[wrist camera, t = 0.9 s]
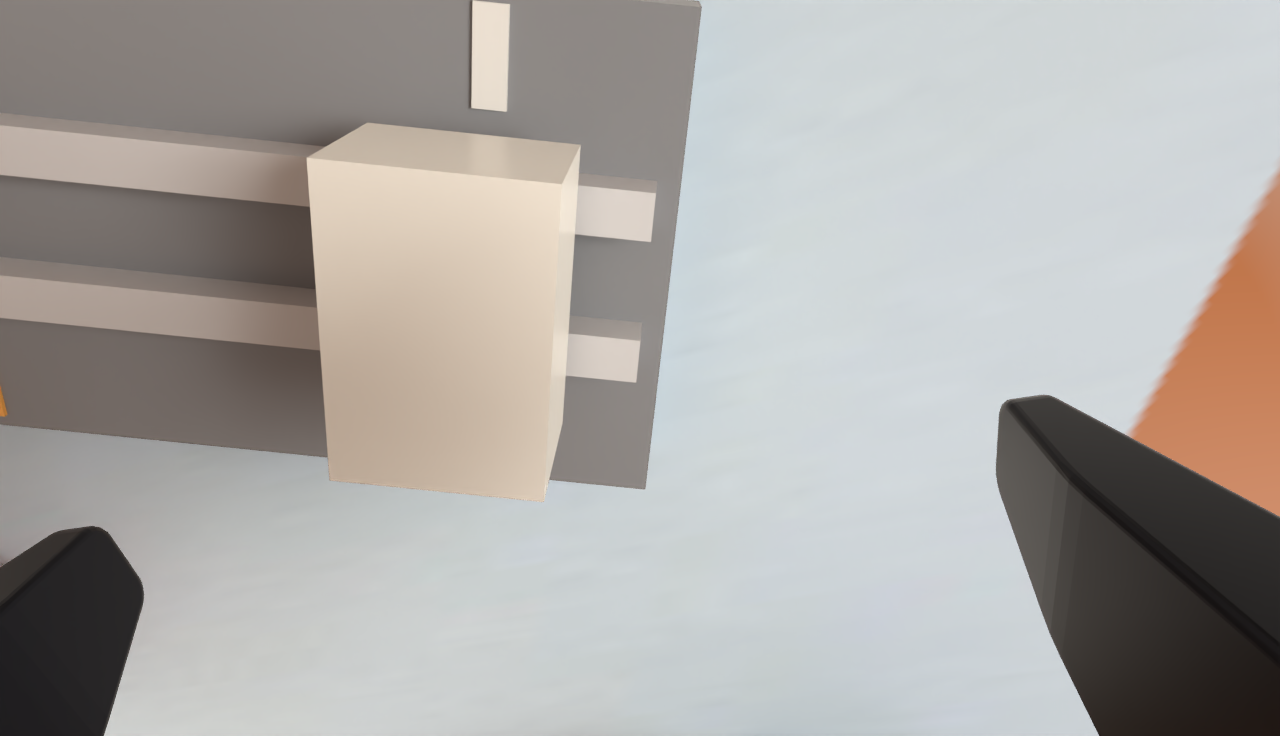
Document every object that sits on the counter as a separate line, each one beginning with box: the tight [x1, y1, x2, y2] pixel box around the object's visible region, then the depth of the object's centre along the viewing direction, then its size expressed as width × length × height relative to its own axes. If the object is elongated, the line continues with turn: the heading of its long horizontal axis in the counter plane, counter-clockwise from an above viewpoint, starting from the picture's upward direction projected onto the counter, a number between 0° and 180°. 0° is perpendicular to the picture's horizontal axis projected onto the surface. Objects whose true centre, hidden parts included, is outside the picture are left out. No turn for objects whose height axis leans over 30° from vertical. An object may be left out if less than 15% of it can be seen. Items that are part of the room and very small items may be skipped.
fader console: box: [0, 0, 702, 489], centre depth 19 cm, size 20×11×3 cm, turn 85°
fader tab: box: [307, 123, 581, 502], centre depth 17 cm, size 4×6×4 cm, turn 175°
